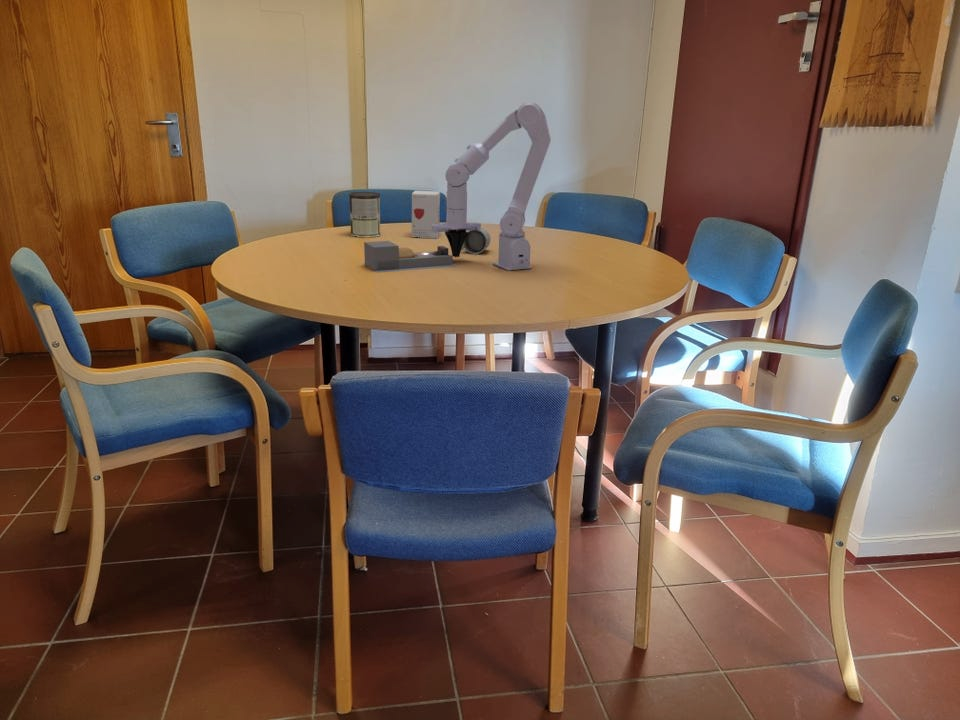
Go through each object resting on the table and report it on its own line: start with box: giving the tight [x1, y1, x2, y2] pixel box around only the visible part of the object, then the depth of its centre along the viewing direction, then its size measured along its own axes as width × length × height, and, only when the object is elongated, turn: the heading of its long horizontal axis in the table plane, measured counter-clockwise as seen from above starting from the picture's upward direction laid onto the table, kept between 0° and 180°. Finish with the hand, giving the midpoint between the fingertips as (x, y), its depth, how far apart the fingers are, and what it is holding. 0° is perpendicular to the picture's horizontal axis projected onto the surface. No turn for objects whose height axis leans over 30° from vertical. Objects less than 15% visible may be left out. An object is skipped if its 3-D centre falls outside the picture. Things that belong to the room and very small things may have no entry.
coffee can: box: [348, 191, 381, 238], centre depth 237 cm, size 10×10×14 cm
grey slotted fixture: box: [362, 240, 459, 274], centre depth 193 cm, size 12×24×7 cm, turn 117°
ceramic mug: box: [461, 227, 491, 255], centre depth 216 cm, size 11×8×8 cm
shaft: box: [413, 245, 449, 258], centre depth 196 cm, size 4×10×4 cm, turn 117°
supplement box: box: [411, 190, 441, 239], centre depth 239 cm, size 9×9×15 cm
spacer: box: [399, 247, 414, 259], centre depth 193 cm, size 4×4×4 cm
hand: (455, 256), depth 200 cm, fingers closed
